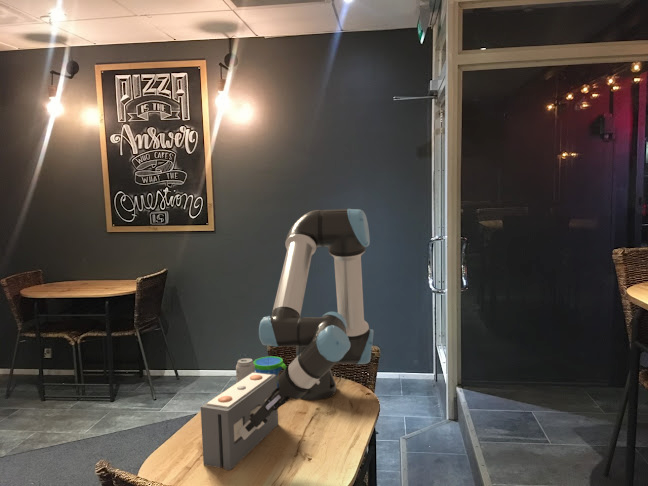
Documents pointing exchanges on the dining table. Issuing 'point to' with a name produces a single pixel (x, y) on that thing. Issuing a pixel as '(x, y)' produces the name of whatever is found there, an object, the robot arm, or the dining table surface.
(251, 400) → the console
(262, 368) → the snack cup
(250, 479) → the dining table surface
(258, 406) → the button middle
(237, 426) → the button edge side
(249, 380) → the pattern card
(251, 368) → the energy drink can
